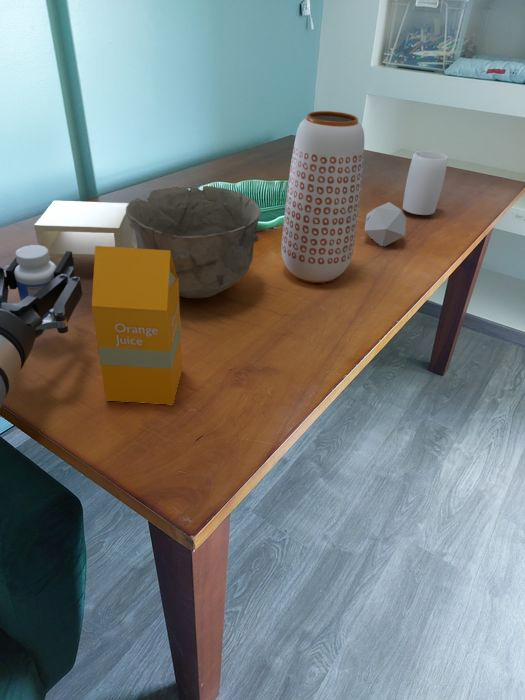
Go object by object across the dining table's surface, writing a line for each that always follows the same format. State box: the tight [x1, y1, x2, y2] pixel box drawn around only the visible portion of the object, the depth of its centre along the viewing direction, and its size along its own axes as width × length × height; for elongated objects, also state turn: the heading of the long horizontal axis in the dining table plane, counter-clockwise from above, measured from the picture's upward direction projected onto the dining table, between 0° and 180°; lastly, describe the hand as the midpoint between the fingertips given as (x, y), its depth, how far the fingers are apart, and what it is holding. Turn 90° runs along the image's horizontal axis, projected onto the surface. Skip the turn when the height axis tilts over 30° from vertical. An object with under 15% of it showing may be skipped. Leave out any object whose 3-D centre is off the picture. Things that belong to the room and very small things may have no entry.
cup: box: [402, 150, 449, 216], centre depth 128 cm, size 8×8×14 cm
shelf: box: [34, 200, 135, 267], centre depth 98 cm, size 14×12×10 cm
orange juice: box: [91, 246, 183, 406], centre depth 66 cm, size 8×9×20 cm
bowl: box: [126, 185, 262, 299], centre depth 91 cm, size 22×22×15 cm
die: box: [364, 201, 407, 247], centre depth 114 cm, size 8×9×10 cm
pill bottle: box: [14, 244, 56, 319], centre depth 72 cm, size 6×5×10 cm
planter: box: [280, 110, 365, 284], centre depth 94 cm, size 13×13×28 cm
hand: (48, 259), depth 76 cm, fingers closed on pill bottle, 5 cm apart
